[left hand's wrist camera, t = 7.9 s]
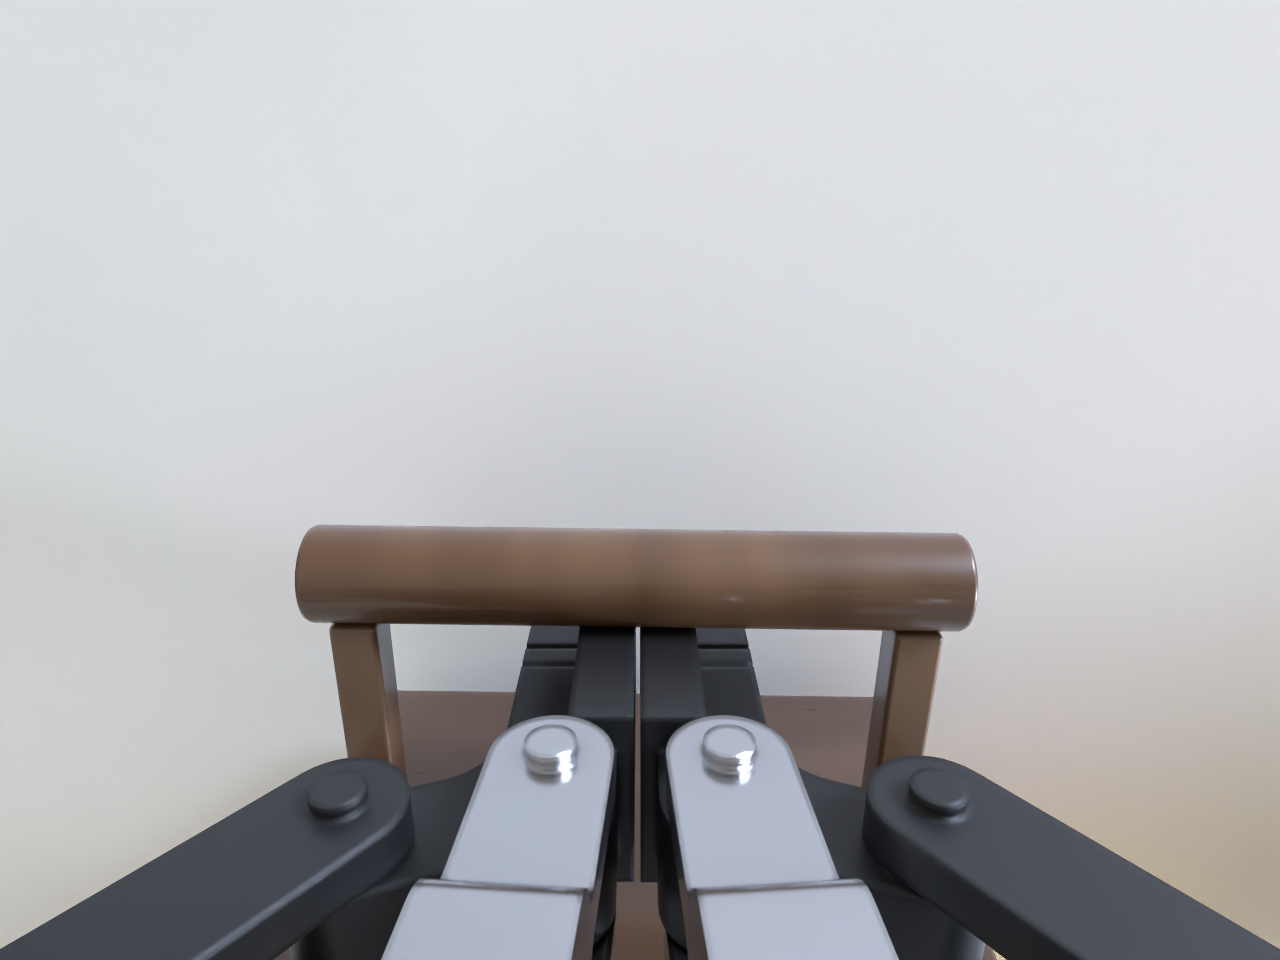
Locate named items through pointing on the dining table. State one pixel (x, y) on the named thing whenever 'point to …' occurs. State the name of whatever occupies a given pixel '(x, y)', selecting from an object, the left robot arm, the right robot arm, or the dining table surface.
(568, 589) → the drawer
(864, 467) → the dining table surface
